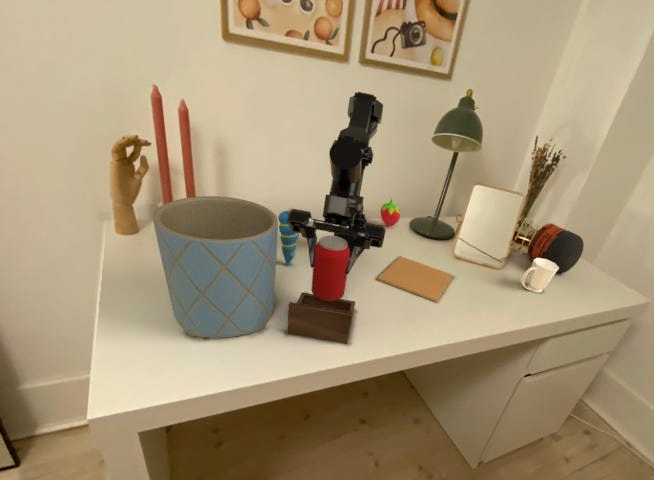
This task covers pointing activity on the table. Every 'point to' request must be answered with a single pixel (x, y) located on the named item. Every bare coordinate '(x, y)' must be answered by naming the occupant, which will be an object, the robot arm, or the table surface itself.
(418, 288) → the placemat
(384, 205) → the red strawberry
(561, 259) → the oil filter
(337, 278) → the beverage can
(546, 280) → the cup
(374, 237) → the robot arm
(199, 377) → the table surface
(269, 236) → the planter
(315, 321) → the open wooden box
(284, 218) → the ornament
